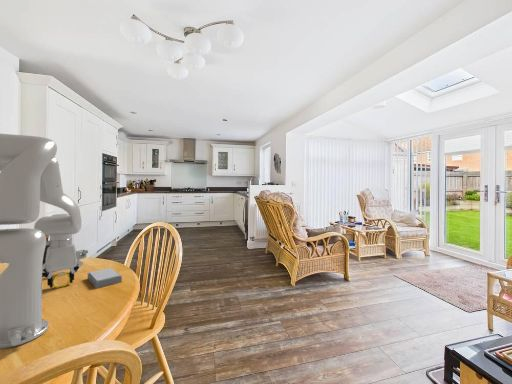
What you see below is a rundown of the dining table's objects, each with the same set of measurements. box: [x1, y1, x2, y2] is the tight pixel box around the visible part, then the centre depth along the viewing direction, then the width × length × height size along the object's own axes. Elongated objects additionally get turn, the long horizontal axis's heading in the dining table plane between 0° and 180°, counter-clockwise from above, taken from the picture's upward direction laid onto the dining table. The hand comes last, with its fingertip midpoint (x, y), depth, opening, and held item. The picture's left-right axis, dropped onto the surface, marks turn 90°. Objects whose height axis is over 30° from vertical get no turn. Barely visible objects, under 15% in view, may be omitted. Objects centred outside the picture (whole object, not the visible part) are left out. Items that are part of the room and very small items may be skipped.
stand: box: [87, 267, 123, 289], centre depth 110 cm, size 14×10×3 cm
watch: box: [52, 271, 70, 289], centre depth 102 cm, size 6×3×6 cm, turn 135°
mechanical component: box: [75, 249, 89, 273], centre depth 119 cm, size 3×10×10 cm, turn 152°
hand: (61, 283), depth 102 cm, fingers closed on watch, 6 cm apart
